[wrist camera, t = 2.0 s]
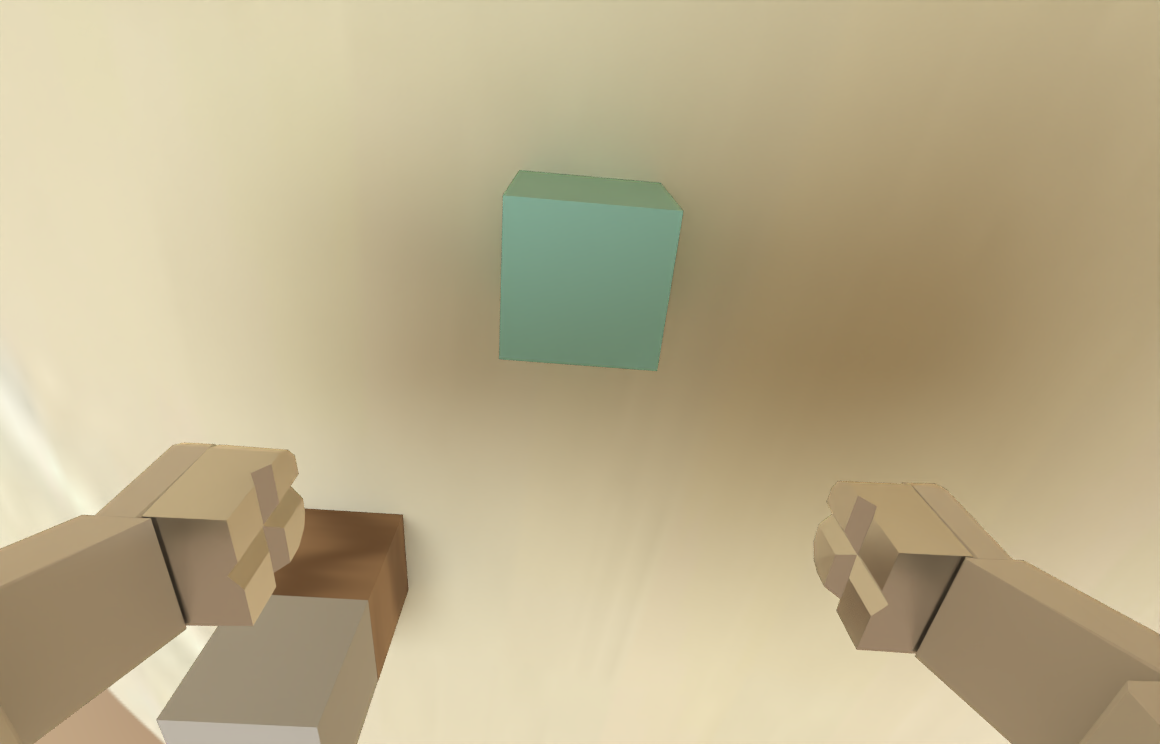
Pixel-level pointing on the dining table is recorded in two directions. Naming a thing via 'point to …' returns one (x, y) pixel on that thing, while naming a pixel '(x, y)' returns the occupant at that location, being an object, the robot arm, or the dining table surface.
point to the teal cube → (586, 270)
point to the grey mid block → (280, 678)
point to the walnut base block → (352, 567)
